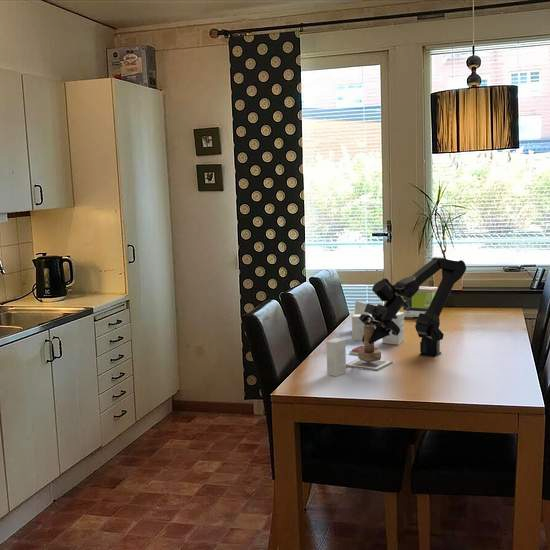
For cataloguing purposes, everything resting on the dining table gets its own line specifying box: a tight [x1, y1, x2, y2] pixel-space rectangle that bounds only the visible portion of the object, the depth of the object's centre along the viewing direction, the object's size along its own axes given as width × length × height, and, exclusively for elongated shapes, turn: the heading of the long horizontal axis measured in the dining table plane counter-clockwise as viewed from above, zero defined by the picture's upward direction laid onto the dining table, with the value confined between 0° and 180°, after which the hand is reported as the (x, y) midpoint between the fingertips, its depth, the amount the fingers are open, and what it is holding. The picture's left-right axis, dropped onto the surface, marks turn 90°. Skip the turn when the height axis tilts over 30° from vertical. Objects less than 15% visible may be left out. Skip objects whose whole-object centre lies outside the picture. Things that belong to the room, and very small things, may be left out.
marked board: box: [346, 358, 394, 372], centre depth 253 cm, size 13×13×1 cm
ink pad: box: [348, 345, 382, 356], centre depth 271 cm, size 9×9×2 cm
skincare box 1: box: [325, 337, 347, 377], centre depth 241 cm, size 6×4×12 cm
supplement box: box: [381, 311, 405, 346], centre depth 287 cm, size 7×7×13 cm
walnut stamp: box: [357, 325, 382, 362], centre depth 252 cm, size 6×6×12 cm
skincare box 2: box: [351, 313, 376, 342], centre depth 295 cm, size 10×6×10 cm, turn 74°
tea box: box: [402, 285, 439, 318], centre depth 342 cm, size 15×10×15 cm, turn 58°
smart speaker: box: [354, 300, 372, 315], centre depth 311 cm, size 10×9×14 cm
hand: (366, 342), depth 252 cm, fingers closed on walnut stamp, 4 cm apart
